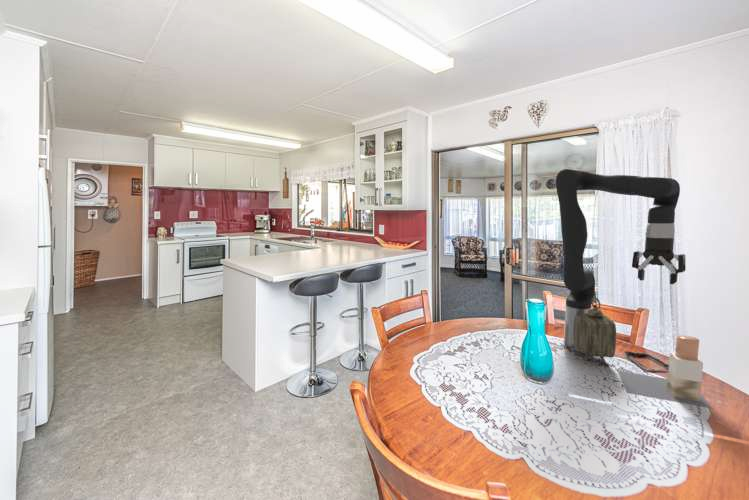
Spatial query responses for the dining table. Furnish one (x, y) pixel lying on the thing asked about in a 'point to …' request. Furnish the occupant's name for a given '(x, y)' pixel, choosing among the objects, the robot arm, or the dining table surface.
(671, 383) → the tower base
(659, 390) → the slate mat
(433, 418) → the dining table surface
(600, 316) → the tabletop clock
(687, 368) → the tower top
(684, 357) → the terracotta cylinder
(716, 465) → the dining table surface
